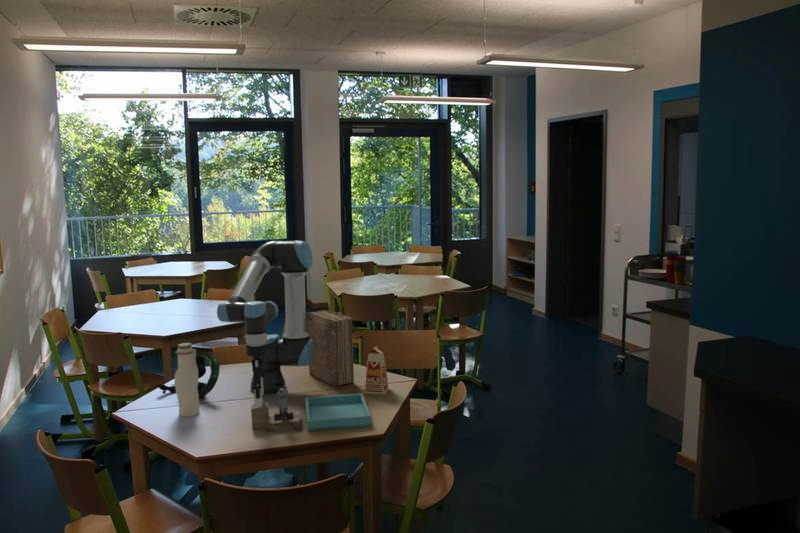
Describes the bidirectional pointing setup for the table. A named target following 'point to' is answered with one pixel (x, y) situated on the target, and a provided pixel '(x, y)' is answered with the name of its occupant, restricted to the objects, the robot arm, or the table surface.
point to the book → (331, 347)
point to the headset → (202, 387)
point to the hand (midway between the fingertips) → (259, 400)
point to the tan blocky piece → (273, 419)
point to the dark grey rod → (283, 403)
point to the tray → (337, 412)
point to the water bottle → (187, 381)
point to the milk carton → (376, 373)
